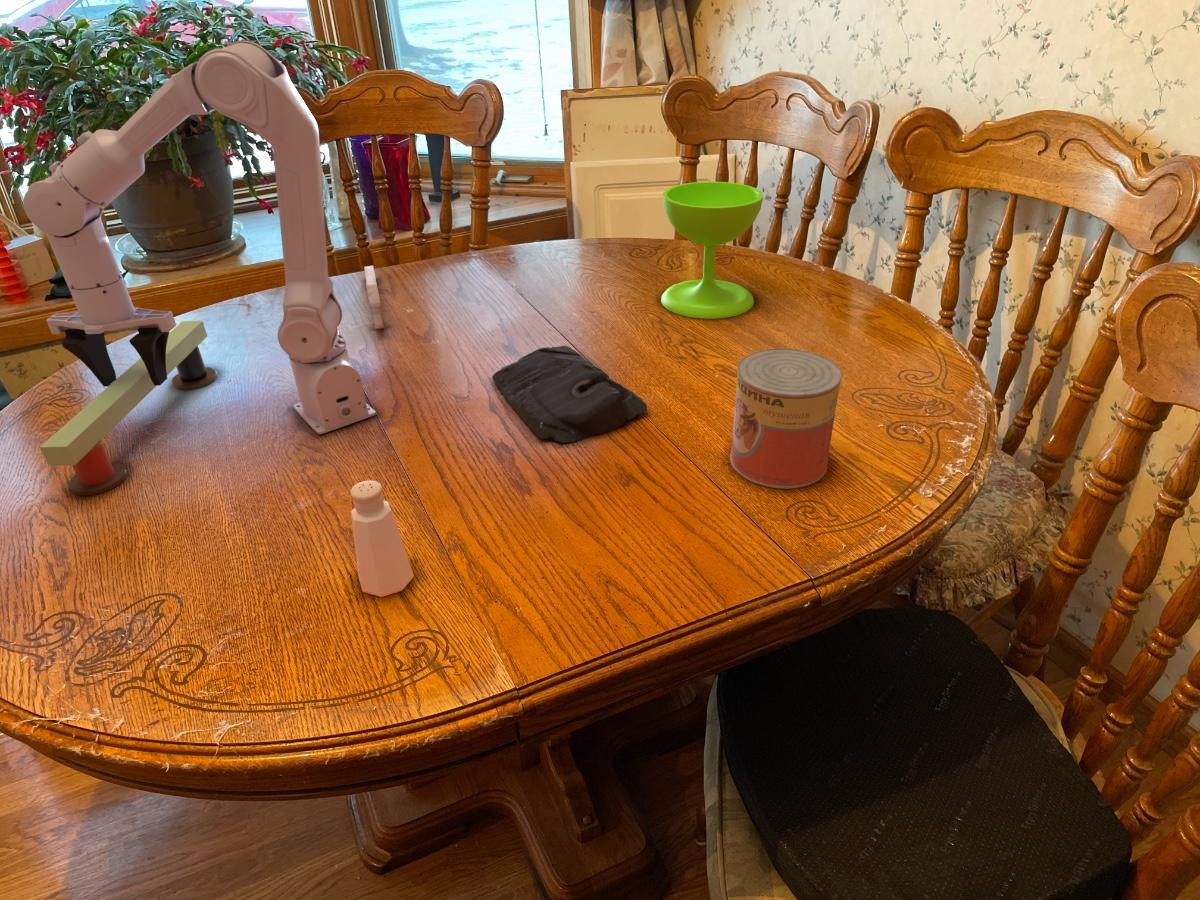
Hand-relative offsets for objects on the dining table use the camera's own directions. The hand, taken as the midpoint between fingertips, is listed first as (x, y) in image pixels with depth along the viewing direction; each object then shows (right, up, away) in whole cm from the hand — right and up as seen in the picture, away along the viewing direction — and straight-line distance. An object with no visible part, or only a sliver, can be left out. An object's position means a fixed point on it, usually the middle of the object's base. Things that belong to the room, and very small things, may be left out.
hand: (135, 382), depth 100 cm
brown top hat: (0, +2, +14) cm, 14 cm away
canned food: (+81, -10, -7) cm, 82 cm away
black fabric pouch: (+55, -2, +7) cm, 55 cm away
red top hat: (0, -12, -7) cm, 14 cm away
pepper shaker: (+38, -21, -23) cm, 50 cm away
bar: (0, -1, +1) cm, 1 cm away
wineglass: (+78, +17, +35) cm, 87 cm away
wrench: (+20, +16, +36) cm, 44 cm away
